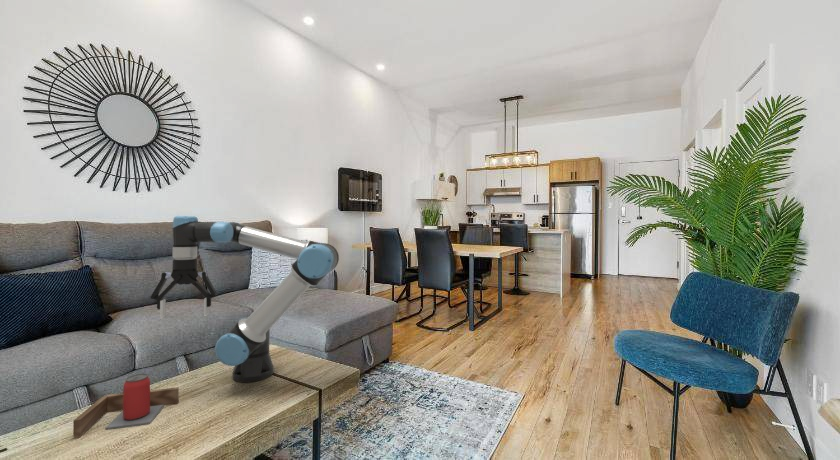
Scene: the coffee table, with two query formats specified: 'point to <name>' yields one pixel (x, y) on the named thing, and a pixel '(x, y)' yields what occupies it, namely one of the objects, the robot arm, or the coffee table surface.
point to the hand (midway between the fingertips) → (184, 317)
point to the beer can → (136, 397)
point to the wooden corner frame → (118, 407)
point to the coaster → (147, 419)
